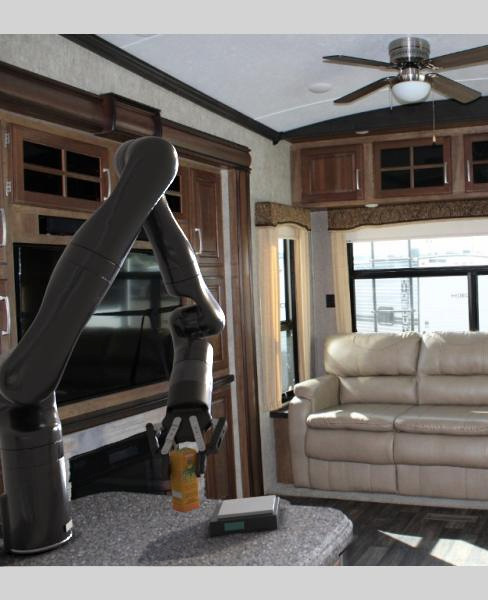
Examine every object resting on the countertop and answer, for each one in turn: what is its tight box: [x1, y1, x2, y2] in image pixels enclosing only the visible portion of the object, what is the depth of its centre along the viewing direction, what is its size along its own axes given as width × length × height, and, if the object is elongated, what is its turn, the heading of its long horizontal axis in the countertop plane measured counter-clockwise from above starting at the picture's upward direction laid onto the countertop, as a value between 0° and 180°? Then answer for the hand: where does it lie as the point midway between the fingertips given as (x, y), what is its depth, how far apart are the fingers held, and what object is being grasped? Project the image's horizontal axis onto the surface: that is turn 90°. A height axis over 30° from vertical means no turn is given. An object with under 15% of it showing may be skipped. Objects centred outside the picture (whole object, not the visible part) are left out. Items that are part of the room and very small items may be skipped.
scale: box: [209, 494, 281, 537], centre depth 116 cm, size 11×9×3 cm
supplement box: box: [170, 446, 200, 514], centre depth 112 cm, size 3×3×10 cm
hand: (182, 476), depth 110 cm, fingers closed on supplement box, 4 cm apart
